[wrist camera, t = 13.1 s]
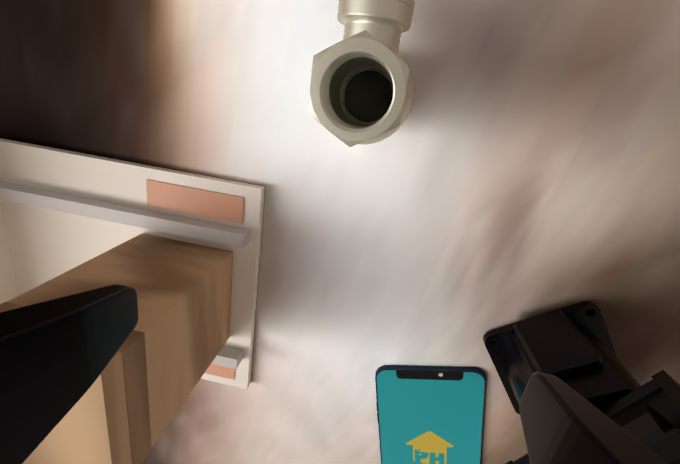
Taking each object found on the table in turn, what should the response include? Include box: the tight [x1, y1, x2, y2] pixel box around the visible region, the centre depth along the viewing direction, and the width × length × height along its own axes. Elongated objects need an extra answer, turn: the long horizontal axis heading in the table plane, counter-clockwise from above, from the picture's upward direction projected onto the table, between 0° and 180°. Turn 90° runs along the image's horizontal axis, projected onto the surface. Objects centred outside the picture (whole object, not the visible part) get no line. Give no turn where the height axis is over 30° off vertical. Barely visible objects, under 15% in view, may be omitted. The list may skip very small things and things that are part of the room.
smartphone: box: [375, 365, 486, 464], centre depth 26 cm, size 7×1×15 cm
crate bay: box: [0, 138, 265, 389], centre depth 21 cm, size 18×15×7 cm
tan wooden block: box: [0, 233, 233, 464], centre depth 18 cm, size 6×6×10 cm
